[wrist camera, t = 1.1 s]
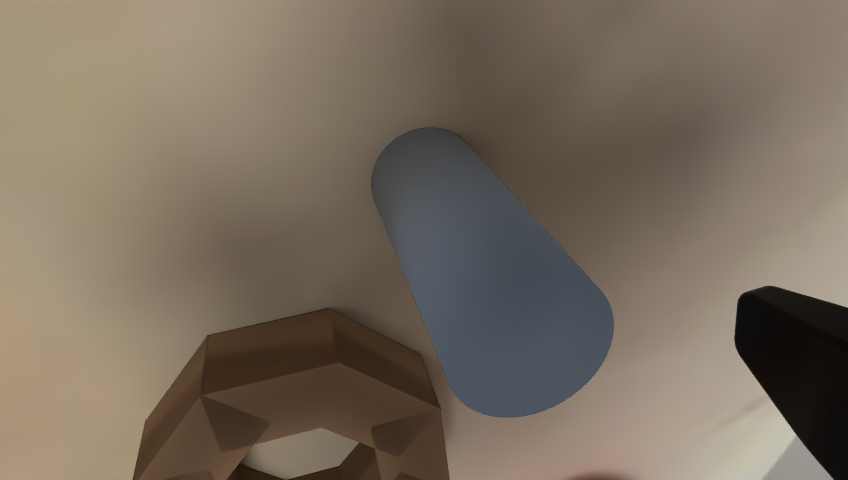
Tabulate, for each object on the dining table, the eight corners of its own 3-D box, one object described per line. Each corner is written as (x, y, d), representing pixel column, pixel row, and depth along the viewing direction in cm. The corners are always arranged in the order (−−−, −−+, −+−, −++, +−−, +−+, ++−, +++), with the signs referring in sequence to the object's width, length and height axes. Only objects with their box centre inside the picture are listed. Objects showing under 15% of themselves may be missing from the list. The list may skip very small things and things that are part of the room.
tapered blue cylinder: (474, 118, 20) (617, 253, 12) (482, 219, 21) (610, 393, 14) (363, 139, 19) (436, 294, 11) (379, 240, 21) (452, 435, 13)
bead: (411, 289, 22) (432, 339, 19) (439, 481, 27) (458, 541, 24) (116, 356, 20) (95, 420, 18) (202, 546, 25) (196, 618, 23)
